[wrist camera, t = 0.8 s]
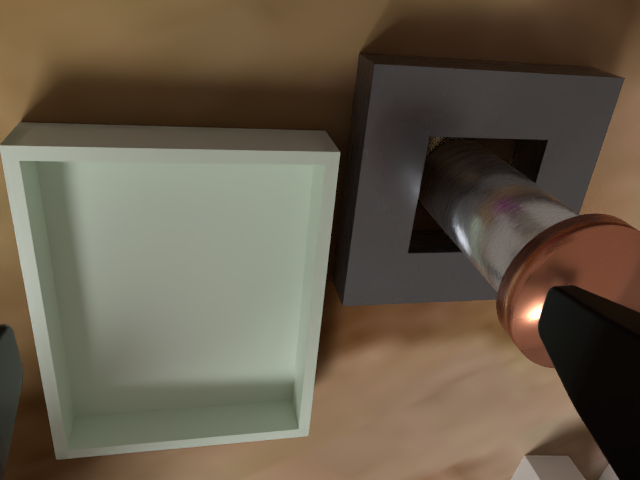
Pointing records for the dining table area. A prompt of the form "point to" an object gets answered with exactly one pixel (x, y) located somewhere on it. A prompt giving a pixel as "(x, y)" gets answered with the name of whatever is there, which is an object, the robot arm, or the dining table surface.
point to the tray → (172, 279)
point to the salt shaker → (526, 238)
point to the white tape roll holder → (553, 469)
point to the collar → (453, 121)
